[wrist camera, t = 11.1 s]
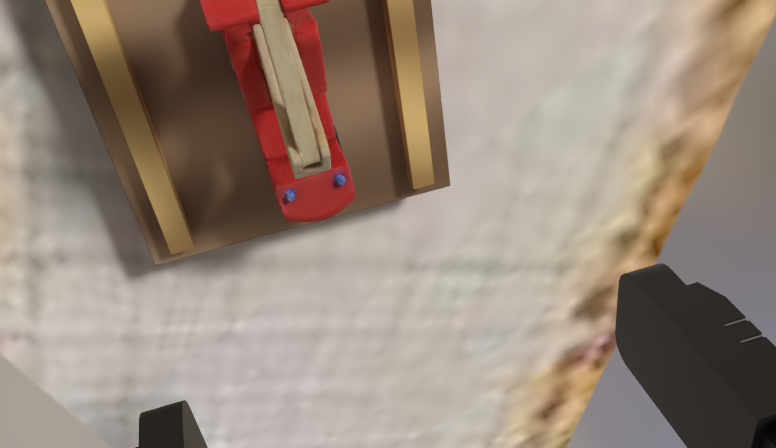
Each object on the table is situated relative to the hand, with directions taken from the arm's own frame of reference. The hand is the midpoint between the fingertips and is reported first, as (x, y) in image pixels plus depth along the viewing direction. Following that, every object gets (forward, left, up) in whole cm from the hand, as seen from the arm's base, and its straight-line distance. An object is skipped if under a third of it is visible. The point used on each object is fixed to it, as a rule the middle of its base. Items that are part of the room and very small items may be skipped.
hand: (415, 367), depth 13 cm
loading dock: (0, -1, -22) cm, 22 cm away
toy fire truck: (0, 0, -19) cm, 19 cm away
